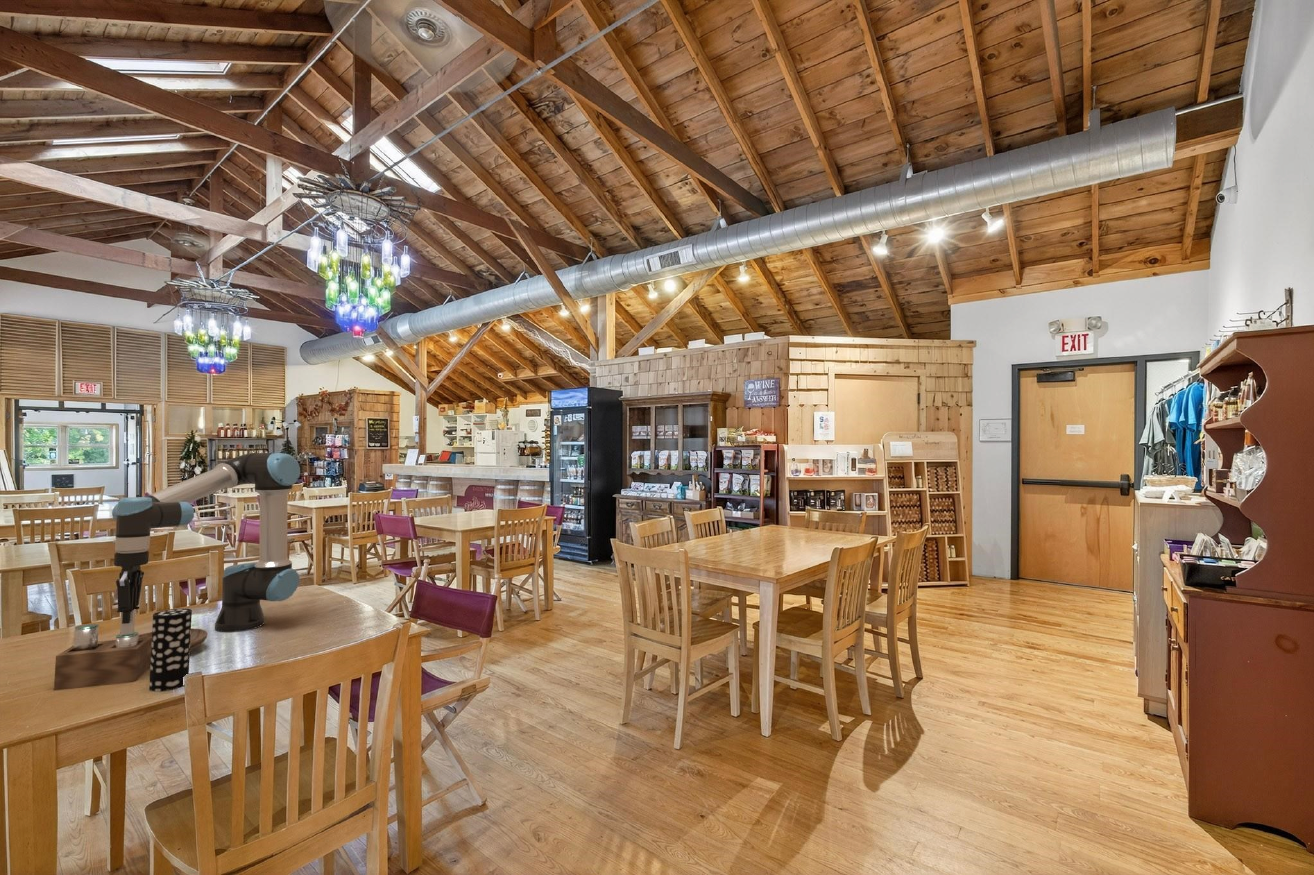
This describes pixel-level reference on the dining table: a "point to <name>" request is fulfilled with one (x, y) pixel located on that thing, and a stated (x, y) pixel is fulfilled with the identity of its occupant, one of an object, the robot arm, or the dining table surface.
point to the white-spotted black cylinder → (170, 649)
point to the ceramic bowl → (195, 640)
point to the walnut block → (102, 664)
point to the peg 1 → (86, 637)
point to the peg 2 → (127, 640)
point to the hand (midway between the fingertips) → (127, 633)
